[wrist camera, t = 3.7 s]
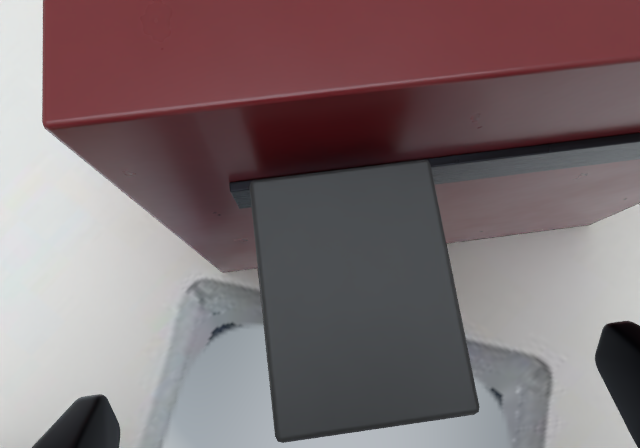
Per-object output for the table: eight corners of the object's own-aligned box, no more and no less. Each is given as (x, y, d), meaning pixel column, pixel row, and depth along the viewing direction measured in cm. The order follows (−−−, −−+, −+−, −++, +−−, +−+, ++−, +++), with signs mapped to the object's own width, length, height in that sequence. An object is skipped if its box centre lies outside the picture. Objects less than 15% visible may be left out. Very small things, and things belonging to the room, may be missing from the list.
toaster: (592, 229, 20) (1107, 14, 7) (221, 278, 19) (34, 138, 6) (537, 32, 22) (850, -405, 9) (204, 69, 21) (39, -348, 8)
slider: (422, 389, 11) (482, 414, 7) (289, 409, 11) (275, 445, 7) (392, 219, 12) (430, 156, 8) (269, 234, 12) (248, 178, 8)
